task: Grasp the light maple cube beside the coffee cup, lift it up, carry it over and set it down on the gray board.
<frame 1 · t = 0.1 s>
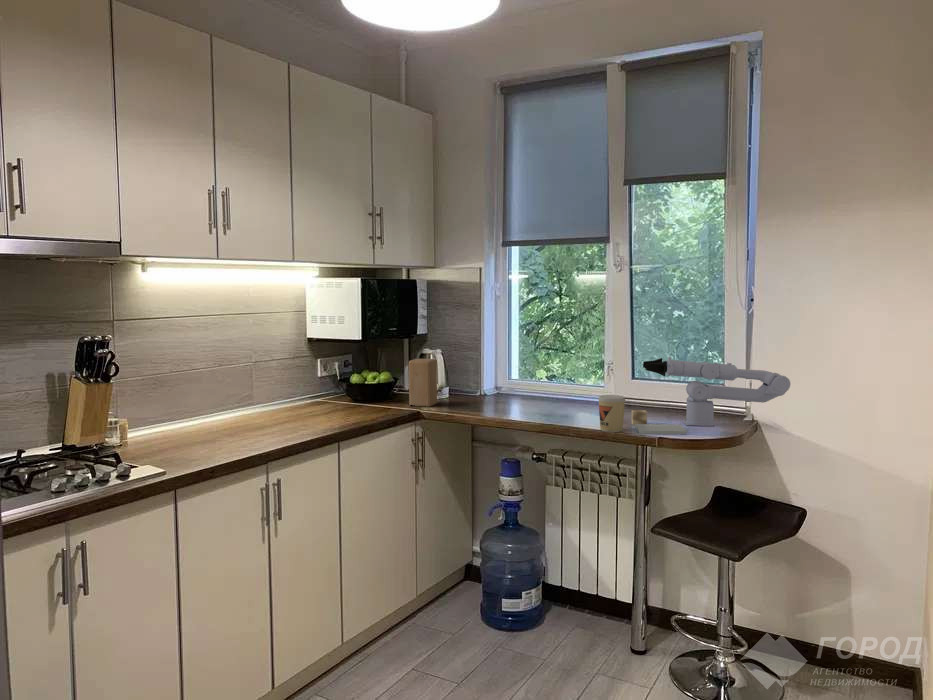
hand: (644, 365, 267), 22 cm above the worktop, tool horizontal, fingers open, 7 cm apart
coffee cup: (611, 430, 256), on the worktop
maple cube: (639, 424, 267), on the worktop
wooden block: (423, 405, 314), on the worktop
gray board: (660, 430, 254), on the worktop
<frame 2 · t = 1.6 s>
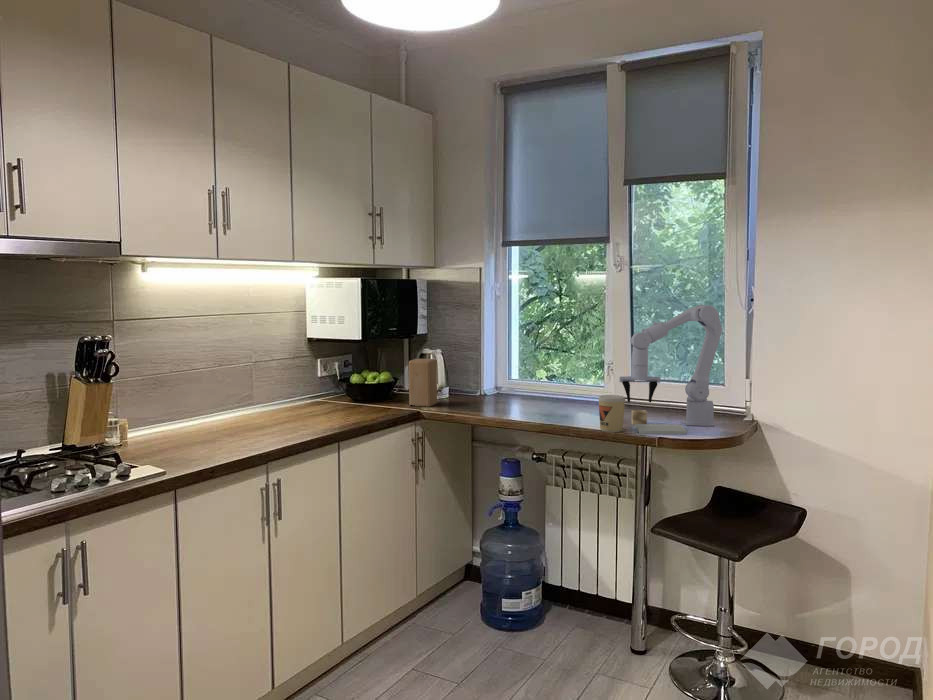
hand: (639, 401, 266), 8 cm above the worktop, tool pointing down, fingers open, 7 cm apart
nothing on the worktop moved.
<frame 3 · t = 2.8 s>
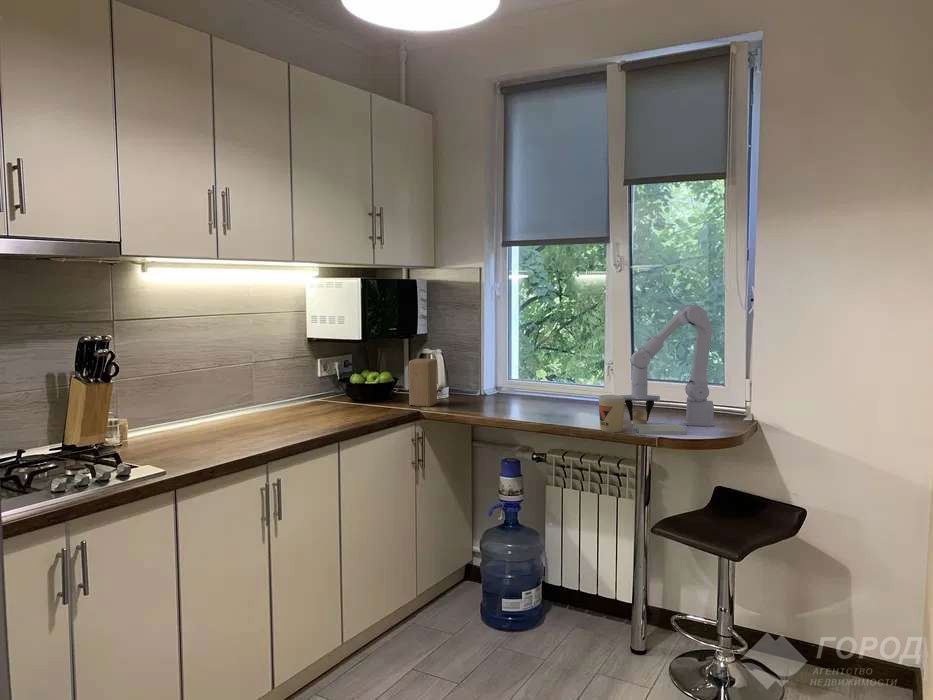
hand: (639, 420, 267), 1 cm above the worktop, tool pointing down, fingers closed on maple cube, 5 cm apart
maple cube: (639, 424, 267), on the worktop, touching gripper
everything else where it was.
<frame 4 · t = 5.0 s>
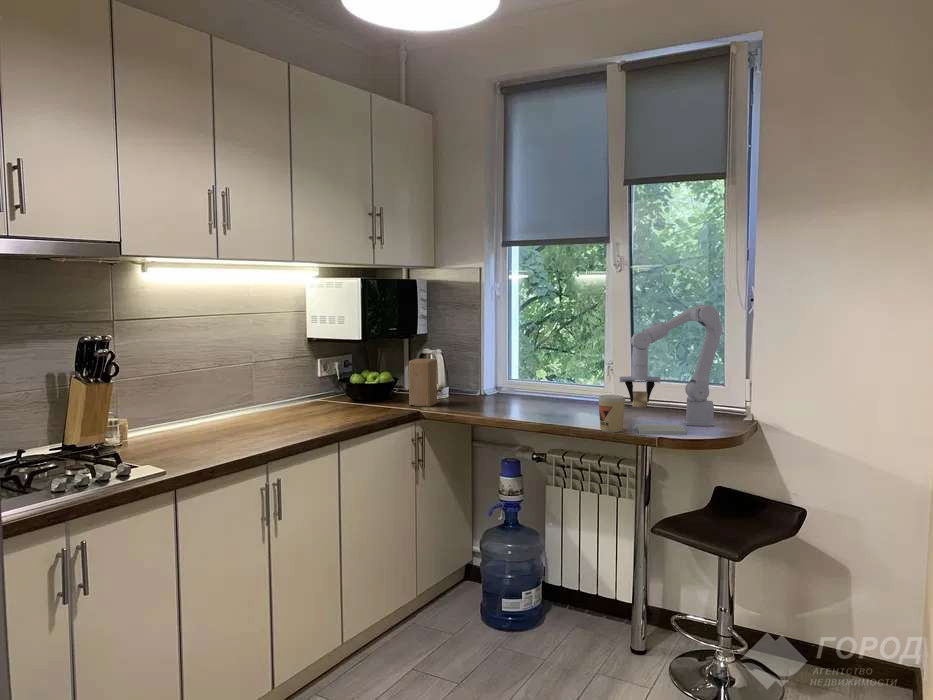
hand: (639, 401, 266), 8 cm above the worktop, tool pointing down, fingers closed on maple cube, 5 cm apart
maple cube: (639, 405, 266), point 7 cm above the worktop, touching gripper
everything else where it was.
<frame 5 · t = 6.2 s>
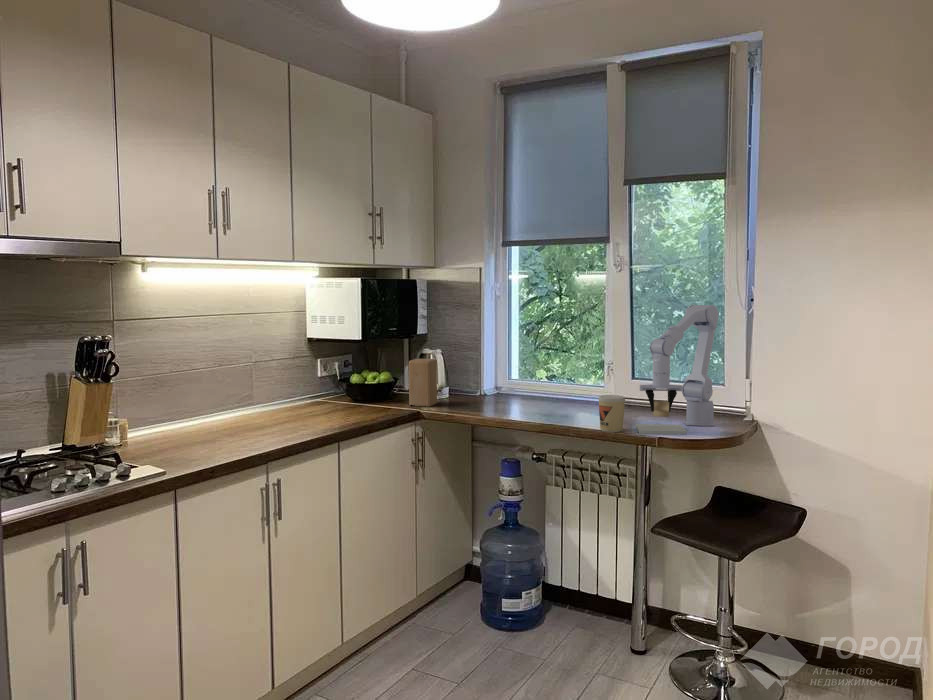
hand: (660, 411, 254), 7 cm above the worktop, tool pointing down, fingers closed on maple cube, 5 cm apart
maple cube: (660, 415, 254), point 5 cm above the worktop, touching gripper
everything else where it was.
when the fingers open (4 cm above the worktop, at t = 7.1 s): maple cube drops 1 cm, resting on gray board.
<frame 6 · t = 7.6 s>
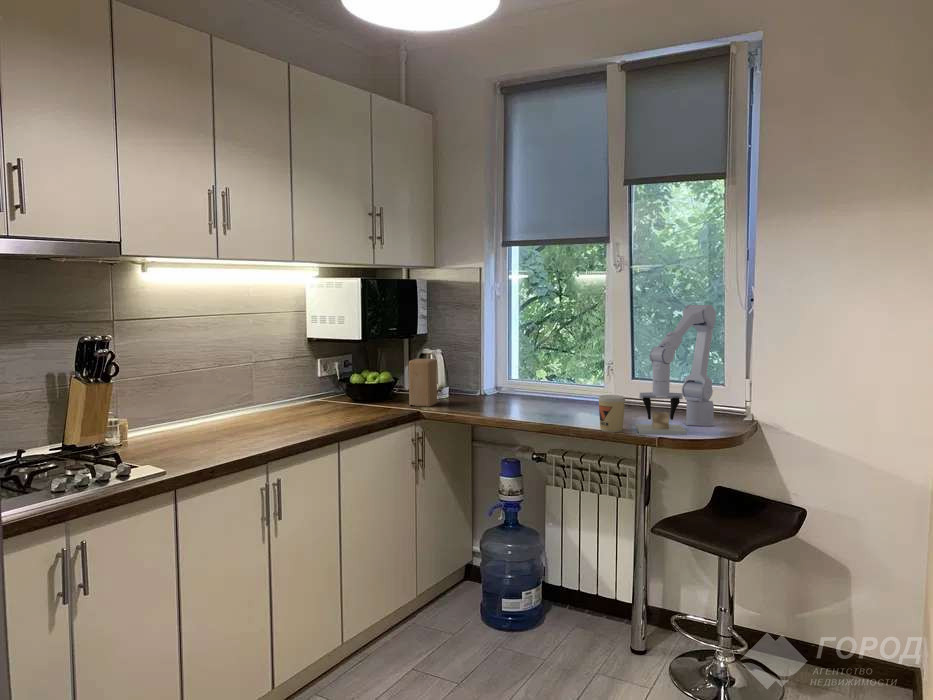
hand: (660, 419, 254), 4 cm above the worktop, tool pointing down, fingers open, 7 cm apart
maple cube: (660, 427, 254), point 1 cm above the worktop, touching gray board
everything else where it was.
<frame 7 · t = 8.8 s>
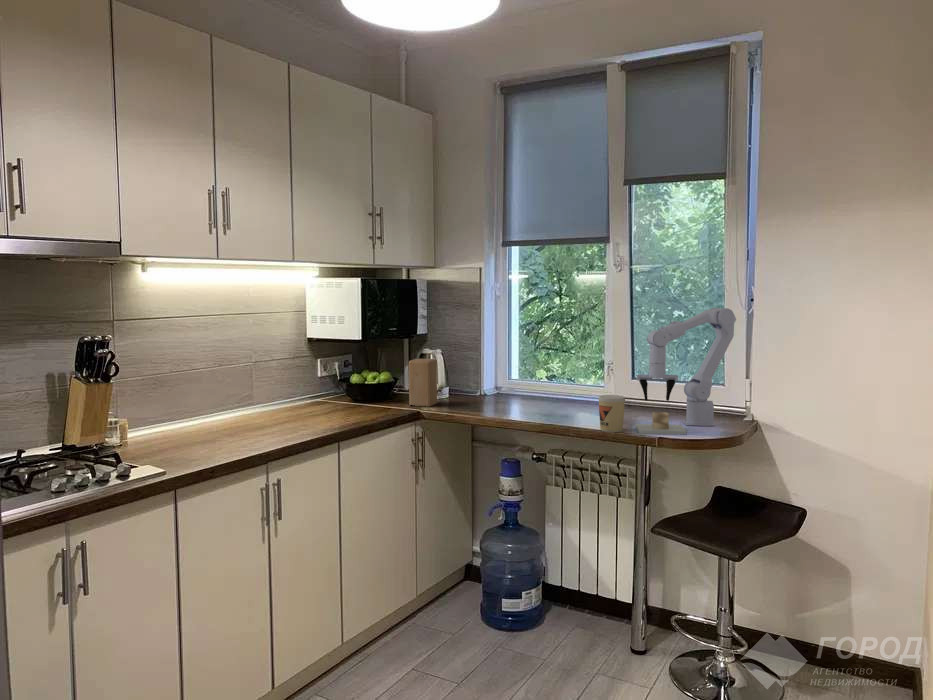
hand: (656, 400, 263), 9 cm above the worktop, tool pointing down, fingers open, 7 cm apart
nothing on the worktop moved.
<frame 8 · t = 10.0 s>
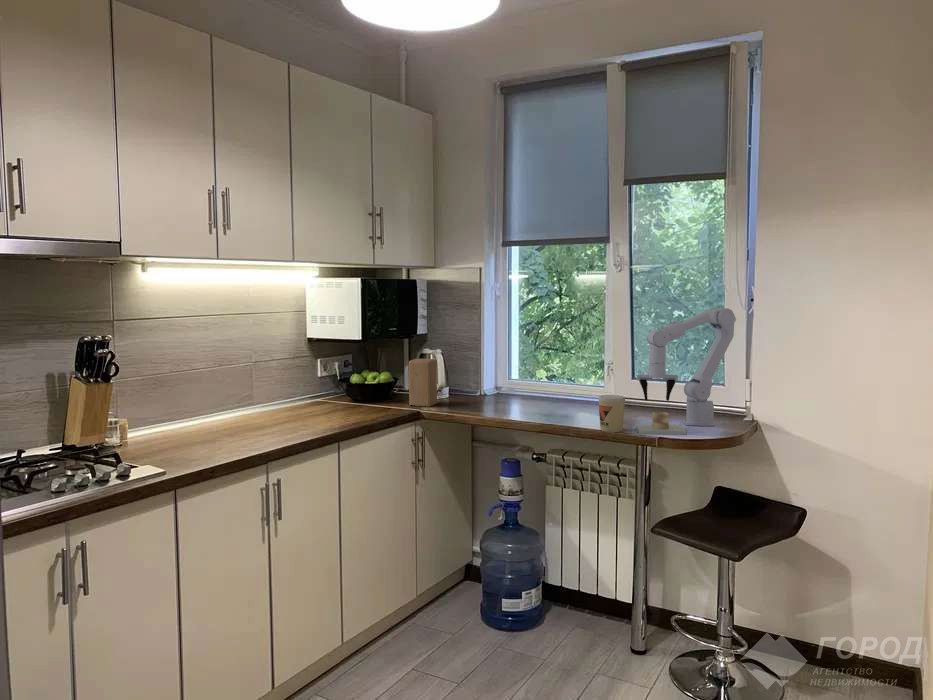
hand: (656, 400, 263), 9 cm above the worktop, tool pointing down, fingers open, 7 cm apart
nothing on the worktop moved.
at the end: maple cube inside the target area on the gray board (0.1 cm from its centre), point 1.2 cm above the gray board's base; maple cube tilted 0°; the gripper is holding nothing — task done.
